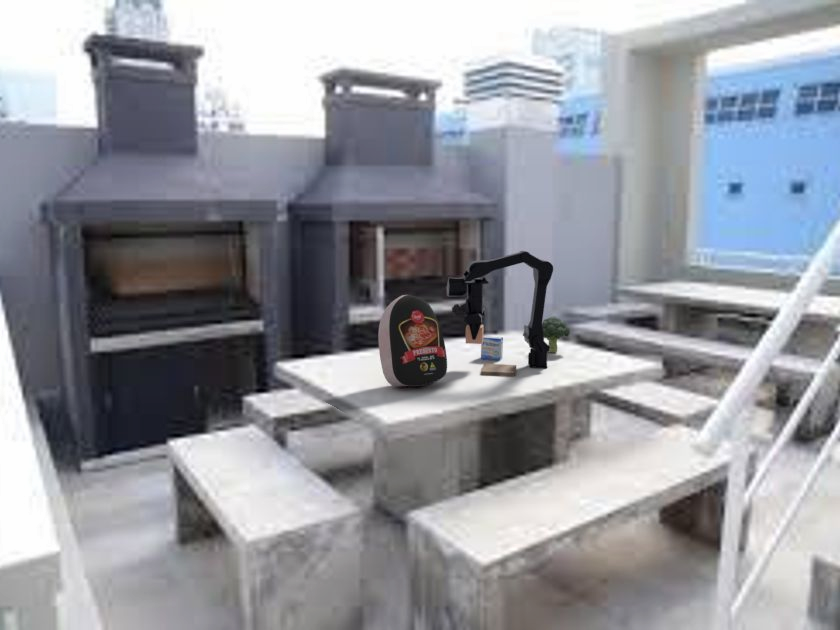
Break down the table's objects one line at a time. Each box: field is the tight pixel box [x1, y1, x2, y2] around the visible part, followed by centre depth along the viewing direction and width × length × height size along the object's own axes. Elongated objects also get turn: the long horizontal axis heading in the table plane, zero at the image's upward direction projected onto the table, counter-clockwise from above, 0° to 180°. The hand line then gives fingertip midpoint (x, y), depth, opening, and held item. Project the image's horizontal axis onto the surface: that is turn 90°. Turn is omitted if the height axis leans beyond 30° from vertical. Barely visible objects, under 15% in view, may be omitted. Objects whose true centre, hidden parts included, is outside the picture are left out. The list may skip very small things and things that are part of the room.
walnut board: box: [481, 363, 517, 377], centre depth 248 cm, size 12×12×1 cm
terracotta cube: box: [465, 324, 485, 345], centre depth 252 cm, size 6×6×6 cm
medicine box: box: [480, 335, 504, 361], centre depth 268 cm, size 8×4×9 cm, turn 73°
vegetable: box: [542, 316, 571, 353], centre depth 279 cm, size 12×13×15 cm
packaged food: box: [377, 294, 448, 387], centre depth 227 cm, size 22×20×30 cm
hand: (474, 337), depth 252 cm, fingers closed on terracotta cube, 6 cm apart
